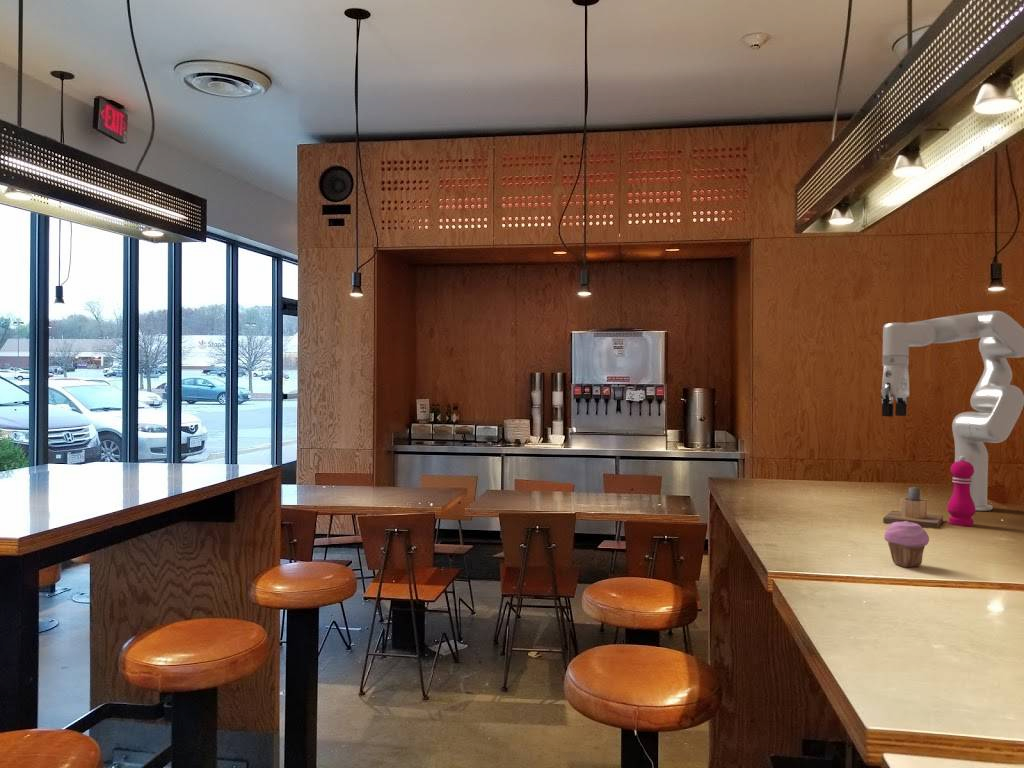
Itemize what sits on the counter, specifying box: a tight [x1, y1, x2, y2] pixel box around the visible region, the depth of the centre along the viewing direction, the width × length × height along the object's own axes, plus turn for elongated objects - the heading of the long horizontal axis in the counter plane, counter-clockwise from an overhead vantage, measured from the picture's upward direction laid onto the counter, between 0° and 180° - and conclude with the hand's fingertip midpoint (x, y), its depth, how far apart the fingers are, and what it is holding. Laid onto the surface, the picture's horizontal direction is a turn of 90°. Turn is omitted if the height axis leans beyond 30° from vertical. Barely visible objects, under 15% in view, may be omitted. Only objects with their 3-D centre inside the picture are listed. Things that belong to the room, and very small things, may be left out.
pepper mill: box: [946, 456, 977, 527], centre depth 237 cm, size 7×7×20 cm
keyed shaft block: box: [882, 486, 944, 529], centre depth 240 cm, size 16×14×10 cm
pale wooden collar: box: [899, 497, 928, 519], centre depth 240 cm, size 7×7×5 cm
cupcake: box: [884, 521, 930, 568], centre depth 183 cm, size 9×9×10 cm
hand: (894, 416), depth 257 cm, fingers open, 9 cm apart
